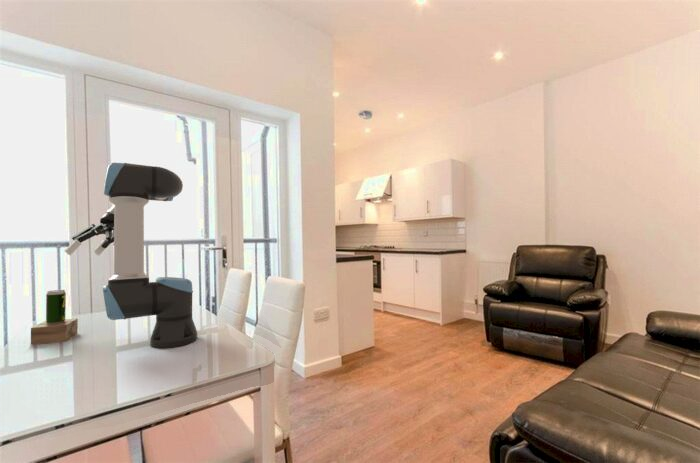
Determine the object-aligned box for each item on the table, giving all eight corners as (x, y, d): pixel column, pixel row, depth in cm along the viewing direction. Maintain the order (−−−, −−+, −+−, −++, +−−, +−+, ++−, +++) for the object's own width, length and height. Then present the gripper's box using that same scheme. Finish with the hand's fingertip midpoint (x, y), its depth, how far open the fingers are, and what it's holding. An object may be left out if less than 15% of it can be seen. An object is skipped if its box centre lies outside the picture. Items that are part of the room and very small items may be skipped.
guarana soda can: (46, 325, 117) (46, 292, 117) (46, 322, 121) (46, 290, 121) (65, 323, 121) (66, 290, 121) (65, 320, 125) (65, 289, 125)
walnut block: (66, 341, 118) (66, 324, 118) (30, 344, 114) (30, 327, 114) (77, 333, 127) (77, 318, 127) (45, 336, 123) (45, 321, 123)
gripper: (143, 224, 147) (114, 259, 132) (95, 224, 151) (62, 258, 136) (133, 211, 142) (102, 246, 127) (84, 212, 146) (48, 246, 130)
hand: (81, 253), depth 131 cm, fingers open, 13 cm apart
